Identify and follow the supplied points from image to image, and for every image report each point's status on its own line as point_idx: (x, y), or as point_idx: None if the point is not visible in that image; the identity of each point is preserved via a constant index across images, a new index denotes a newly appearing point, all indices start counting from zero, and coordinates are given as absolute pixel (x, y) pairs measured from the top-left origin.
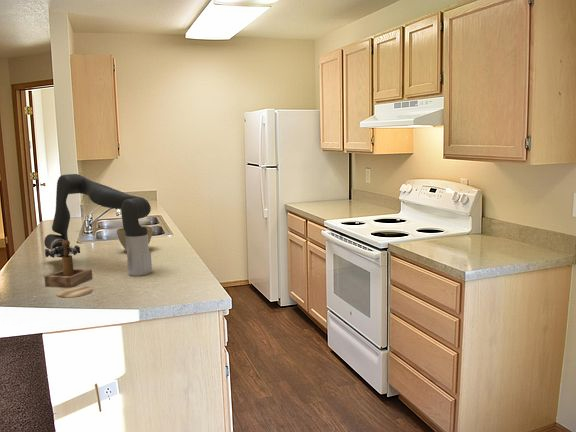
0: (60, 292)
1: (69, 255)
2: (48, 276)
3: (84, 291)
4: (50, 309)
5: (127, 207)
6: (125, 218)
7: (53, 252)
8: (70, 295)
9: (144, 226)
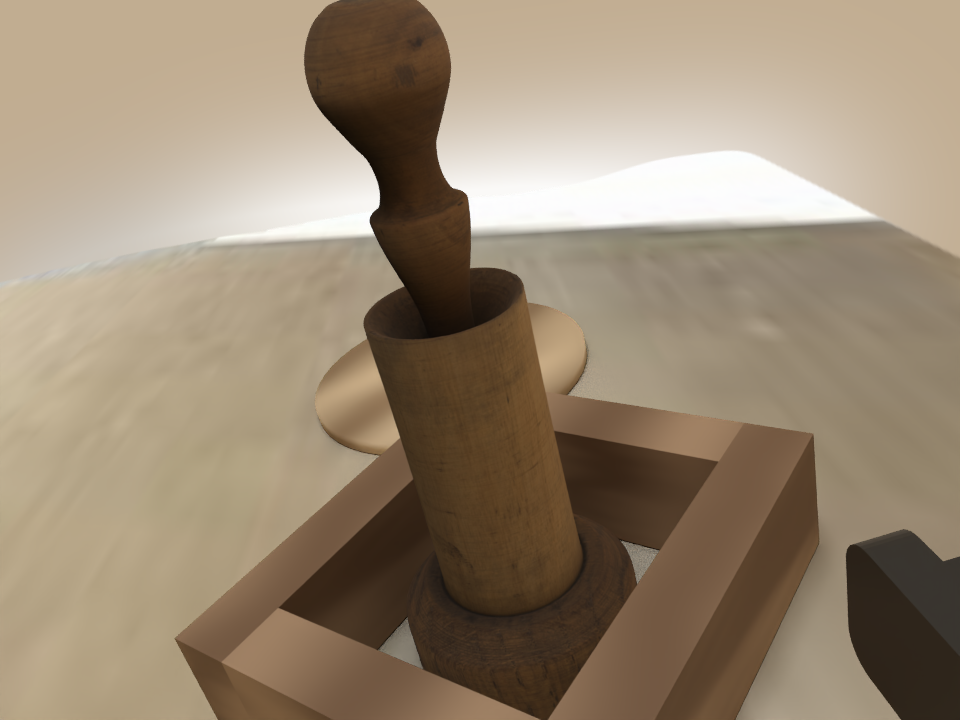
0: (557, 344)
1: (403, 339)
2: (750, 430)
3: None
4: (566, 218)
5: None
6: None
7: (901, 575)
8: None
9: None
